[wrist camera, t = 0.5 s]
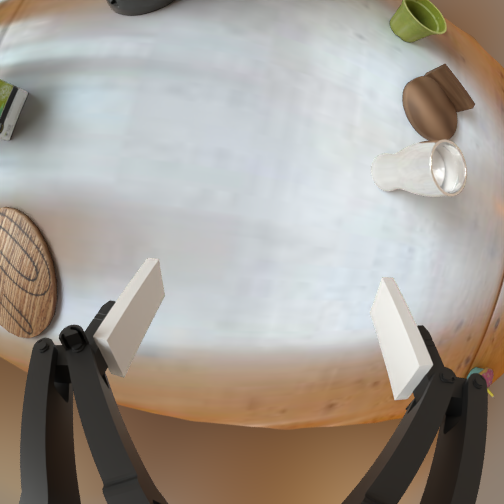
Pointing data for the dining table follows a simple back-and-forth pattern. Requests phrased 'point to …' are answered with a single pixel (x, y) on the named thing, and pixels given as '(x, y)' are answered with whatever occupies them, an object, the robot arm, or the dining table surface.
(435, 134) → the walnut base
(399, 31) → the plant pot
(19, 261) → the trivet
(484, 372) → the cupcake
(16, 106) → the tea box
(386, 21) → the dining table surface
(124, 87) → the dining table surface
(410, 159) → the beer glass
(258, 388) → the dining table surface
